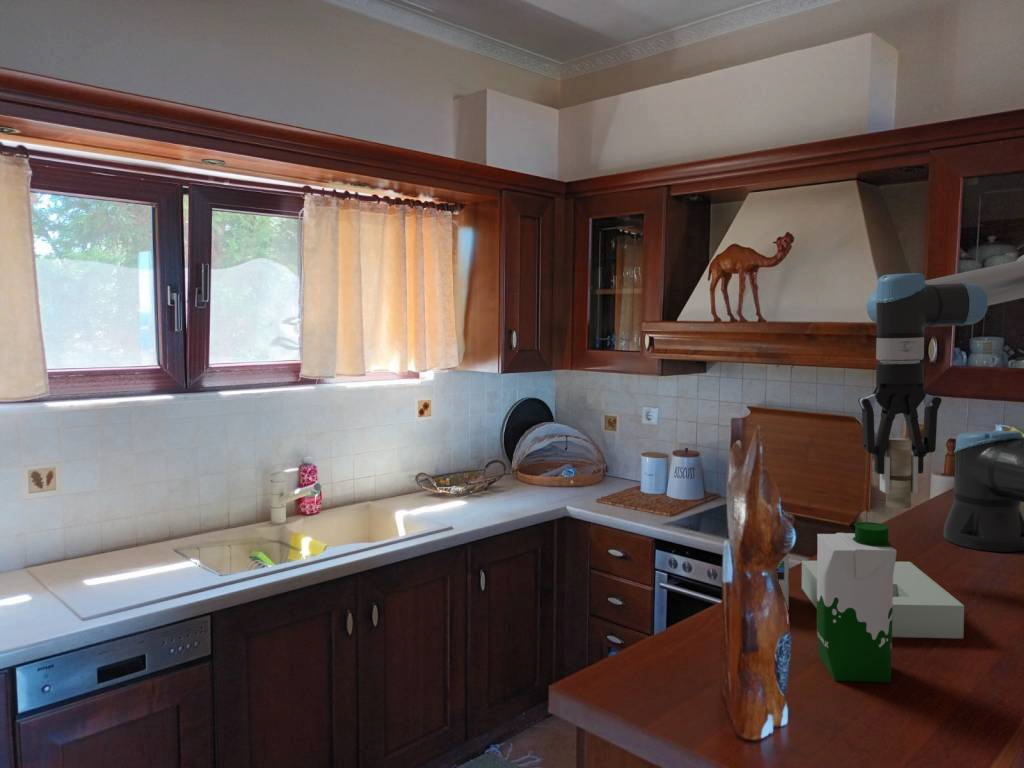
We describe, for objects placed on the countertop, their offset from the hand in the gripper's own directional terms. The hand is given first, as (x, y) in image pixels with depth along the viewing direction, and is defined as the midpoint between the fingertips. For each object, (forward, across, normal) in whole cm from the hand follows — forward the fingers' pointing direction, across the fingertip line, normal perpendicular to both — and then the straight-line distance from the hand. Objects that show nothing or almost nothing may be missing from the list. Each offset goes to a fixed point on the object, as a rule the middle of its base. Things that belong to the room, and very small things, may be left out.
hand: (898, 491), depth 136 cm
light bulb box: (+16, -26, -13) cm, 33 cm away
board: (+16, -9, -16) cm, 24 cm away
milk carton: (+16, -19, -37) cm, 45 cm away
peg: (+3, 0, 0) cm, 3 cm away
